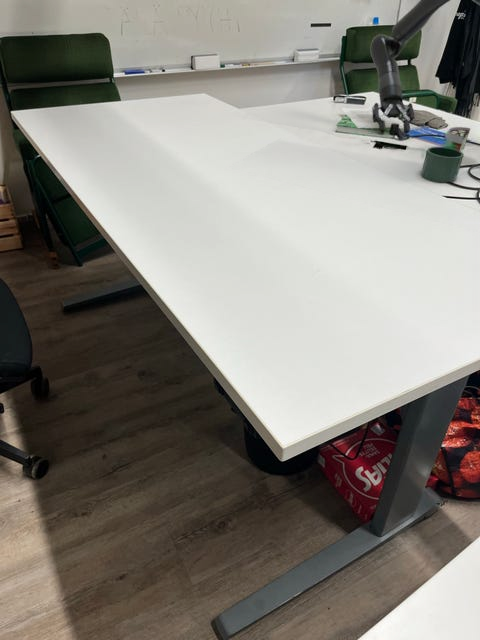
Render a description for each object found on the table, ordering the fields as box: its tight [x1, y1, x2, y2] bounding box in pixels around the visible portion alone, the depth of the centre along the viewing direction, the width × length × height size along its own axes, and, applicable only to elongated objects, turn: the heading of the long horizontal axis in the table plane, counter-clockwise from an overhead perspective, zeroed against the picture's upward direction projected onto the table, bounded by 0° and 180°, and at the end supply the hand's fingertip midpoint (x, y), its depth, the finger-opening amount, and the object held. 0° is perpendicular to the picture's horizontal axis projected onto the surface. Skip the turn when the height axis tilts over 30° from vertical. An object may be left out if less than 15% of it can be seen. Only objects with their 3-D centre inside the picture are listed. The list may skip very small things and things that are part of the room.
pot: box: [420, 146, 464, 184], centre depth 145 cm, size 10×10×7 cm
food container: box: [444, 126, 471, 152], centre depth 155 cm, size 12×6×10 cm, turn 149°
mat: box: [372, 142, 408, 151], centre depth 170 cm, size 11×11×1 cm
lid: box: [374, 122, 407, 150], centre depth 168 cm, size 11×11×7 cm
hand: (395, 132), depth 166 cm, fingers open, 8 cm apart
